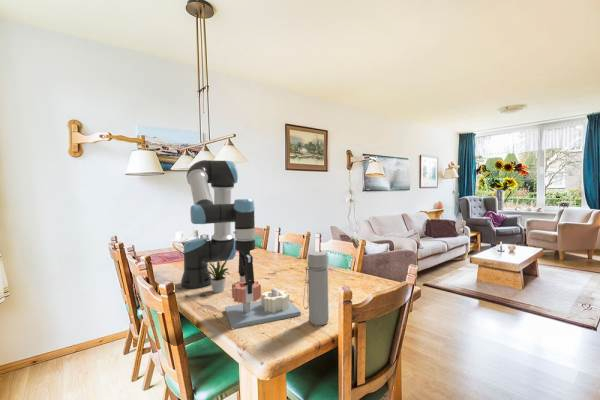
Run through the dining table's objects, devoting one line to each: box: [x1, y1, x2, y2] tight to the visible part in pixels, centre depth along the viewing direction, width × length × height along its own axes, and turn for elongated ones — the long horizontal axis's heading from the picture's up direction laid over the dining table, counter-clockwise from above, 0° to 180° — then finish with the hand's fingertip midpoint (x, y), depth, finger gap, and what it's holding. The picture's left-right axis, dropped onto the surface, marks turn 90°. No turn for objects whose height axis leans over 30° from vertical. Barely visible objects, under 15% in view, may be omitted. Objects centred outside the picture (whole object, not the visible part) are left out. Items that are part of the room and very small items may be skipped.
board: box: [224, 287, 302, 329], centre depth 112 cm, size 17×26×8 cm, turn 113°
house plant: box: [204, 258, 230, 294], centre depth 137 cm, size 14×14×16 cm
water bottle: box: [302, 251, 330, 326], centre depth 103 cm, size 9×8×25 cm
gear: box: [231, 280, 262, 304], centre depth 110 cm, size 10×10×5 cm
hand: (246, 296), depth 110 cm, fingers closed on gear, 10 cm apart
